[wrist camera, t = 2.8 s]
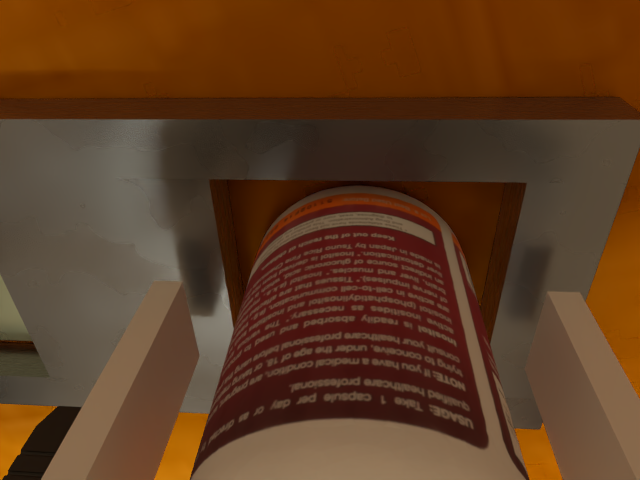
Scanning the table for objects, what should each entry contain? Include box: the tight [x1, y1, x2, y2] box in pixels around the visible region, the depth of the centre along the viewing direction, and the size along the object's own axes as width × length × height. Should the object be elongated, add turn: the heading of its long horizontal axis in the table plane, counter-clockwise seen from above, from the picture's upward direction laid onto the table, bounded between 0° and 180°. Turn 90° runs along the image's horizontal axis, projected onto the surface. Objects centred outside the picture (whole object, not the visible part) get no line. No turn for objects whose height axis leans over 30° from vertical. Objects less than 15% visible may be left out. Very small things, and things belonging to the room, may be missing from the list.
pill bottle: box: [190, 185, 529, 480], centre depth 11 cm, size 6×6×11 cm
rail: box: [0, 97, 640, 429], centre depth 15 cm, size 26×10×2 cm, turn 92°
